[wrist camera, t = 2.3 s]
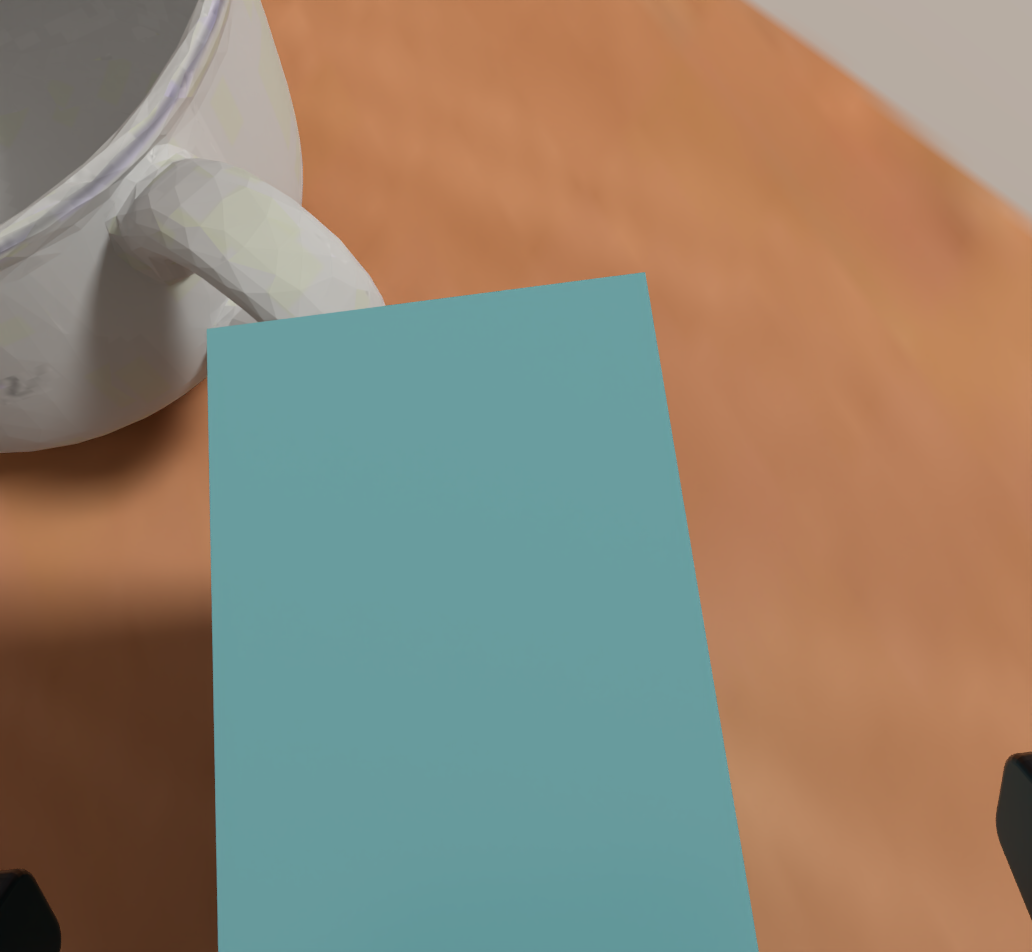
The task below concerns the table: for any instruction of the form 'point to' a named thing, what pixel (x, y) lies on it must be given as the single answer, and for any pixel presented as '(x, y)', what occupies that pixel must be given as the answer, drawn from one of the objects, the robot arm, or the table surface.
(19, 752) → the table surface
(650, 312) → the block
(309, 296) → the teacup
